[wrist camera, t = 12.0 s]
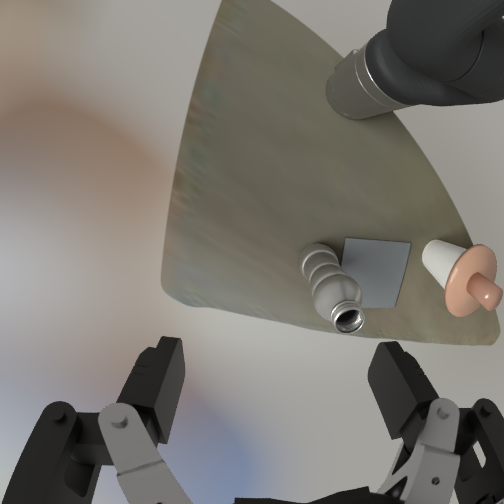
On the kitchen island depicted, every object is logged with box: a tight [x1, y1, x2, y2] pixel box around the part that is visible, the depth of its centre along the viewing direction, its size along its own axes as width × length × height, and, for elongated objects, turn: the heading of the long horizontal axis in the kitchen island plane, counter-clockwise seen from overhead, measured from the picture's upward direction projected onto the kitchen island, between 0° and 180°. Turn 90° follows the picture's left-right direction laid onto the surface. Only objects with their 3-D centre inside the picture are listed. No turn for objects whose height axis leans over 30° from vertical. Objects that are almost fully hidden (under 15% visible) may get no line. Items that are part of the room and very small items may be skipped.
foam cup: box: [422, 240, 467, 290], centre depth 41 cm, size 10×9×13 cm
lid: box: [444, 244, 503, 317], centre depth 31 cm, size 13×13×7 cm
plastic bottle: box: [299, 243, 365, 334], centre depth 38 cm, size 6×7×20 cm
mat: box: [341, 238, 411, 308], centre depth 48 cm, size 14×14×1 cm
